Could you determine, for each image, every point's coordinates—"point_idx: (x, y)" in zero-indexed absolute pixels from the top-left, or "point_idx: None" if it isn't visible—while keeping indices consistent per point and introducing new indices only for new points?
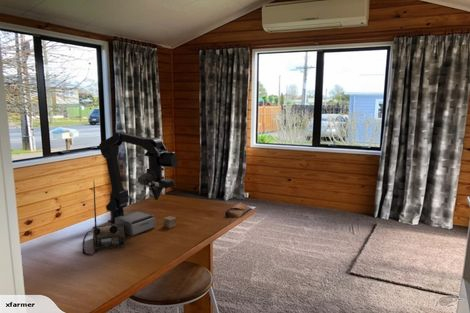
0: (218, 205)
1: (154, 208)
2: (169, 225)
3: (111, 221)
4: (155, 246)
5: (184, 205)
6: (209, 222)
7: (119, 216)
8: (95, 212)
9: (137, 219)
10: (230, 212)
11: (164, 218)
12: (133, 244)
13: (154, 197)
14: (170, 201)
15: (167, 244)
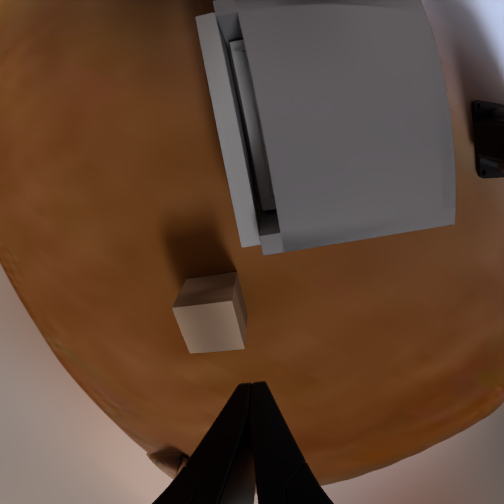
0: None
1: (473, 353)
2: (182, 287)
3: (499, 105)
4: (33, 106)
5: (392, 434)
6: (156, 410)
7: (496, 125)
8: None
9: (253, 78)
10: (169, 466)
11: (222, 302)
12: (110, 21)
13: (266, 403)
14: (458, 411)
15: (23, 160)
